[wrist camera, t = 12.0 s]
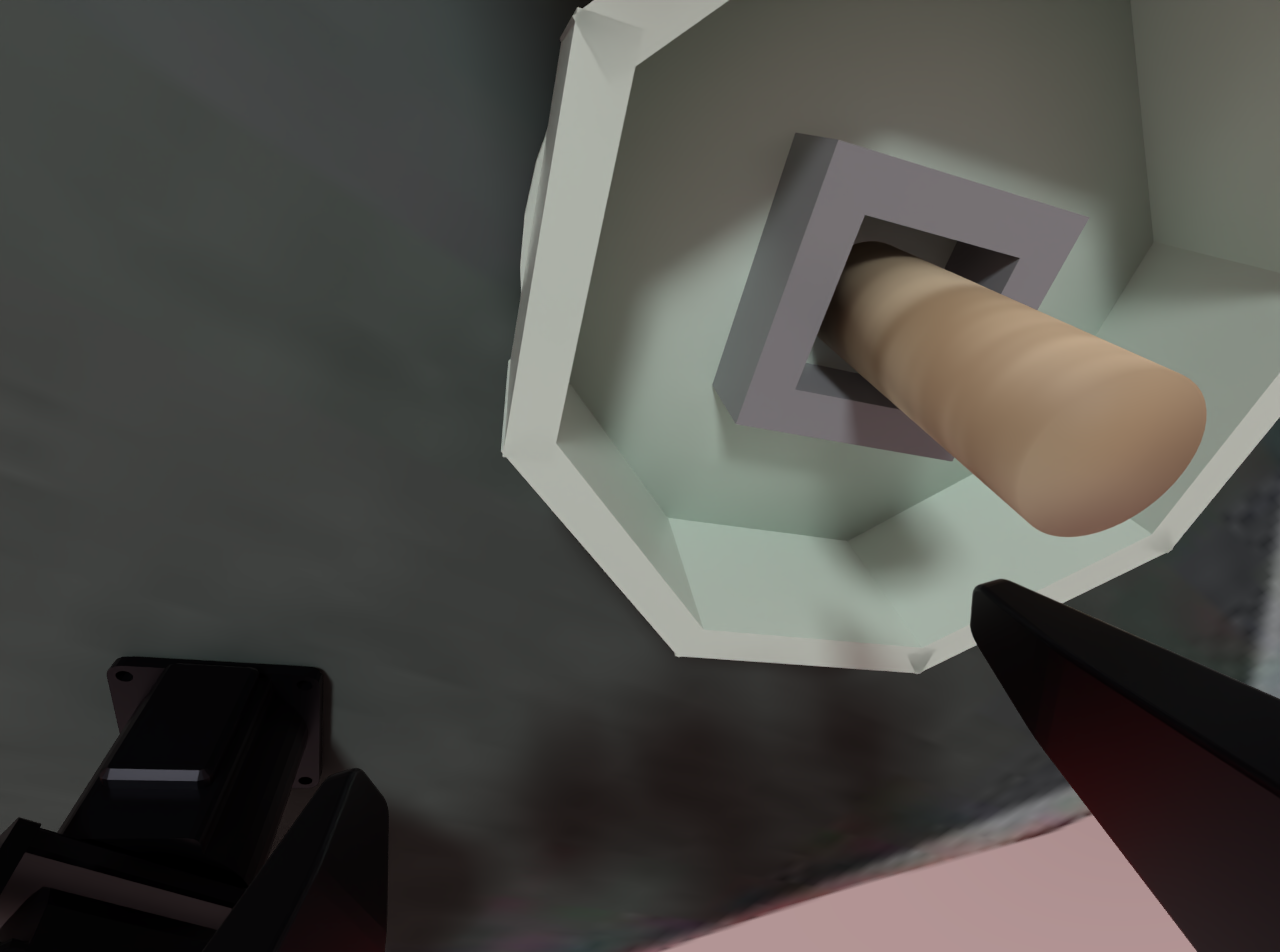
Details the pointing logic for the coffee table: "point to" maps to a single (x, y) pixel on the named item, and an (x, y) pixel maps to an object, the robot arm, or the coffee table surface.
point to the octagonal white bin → (812, 265)
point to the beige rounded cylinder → (1016, 391)
